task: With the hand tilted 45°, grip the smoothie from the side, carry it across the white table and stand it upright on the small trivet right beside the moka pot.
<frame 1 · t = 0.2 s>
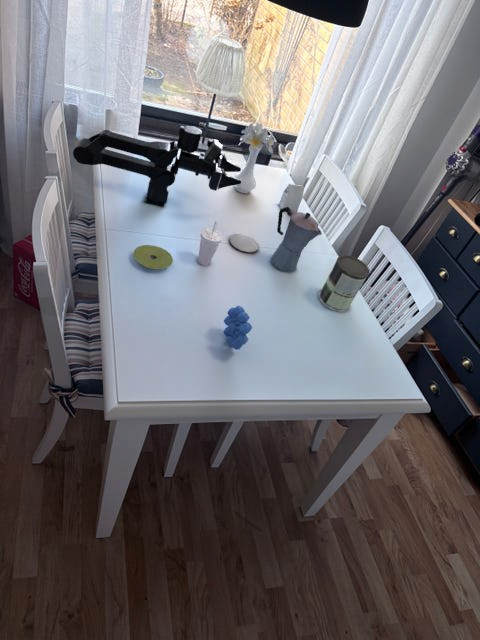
hand: (240, 176, 157), 17 cm above the table, tool horizontal, fingers open, 9 cm apart
trivet: (243, 244, 159), on the table
flower vase: (241, 188, 189), on the table
white carton: (287, 208, 188), on the table
moka pot: (281, 264, 157), on the table
coffee can: (333, 301, 150), on the table
smoothie: (203, 262, 145), on the table
grapes: (233, 344, 122), on the table
green grainy disc: (152, 262, 137), on the table
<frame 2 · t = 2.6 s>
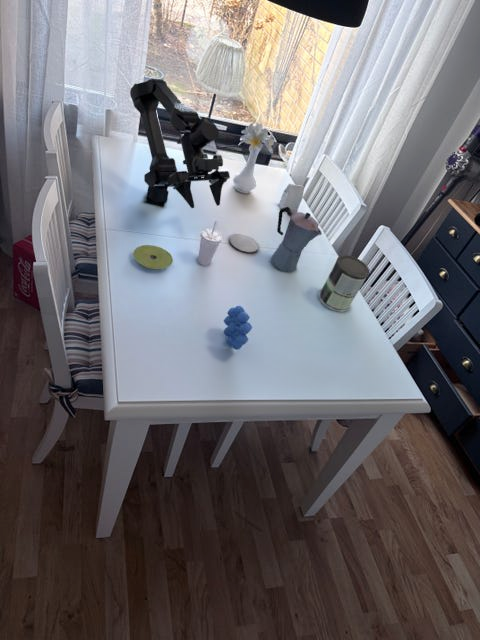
hand: (206, 206, 141), 14 cm above the table, tool tilted 50°, fingers open, 9 cm apart
nothing on the table moved.
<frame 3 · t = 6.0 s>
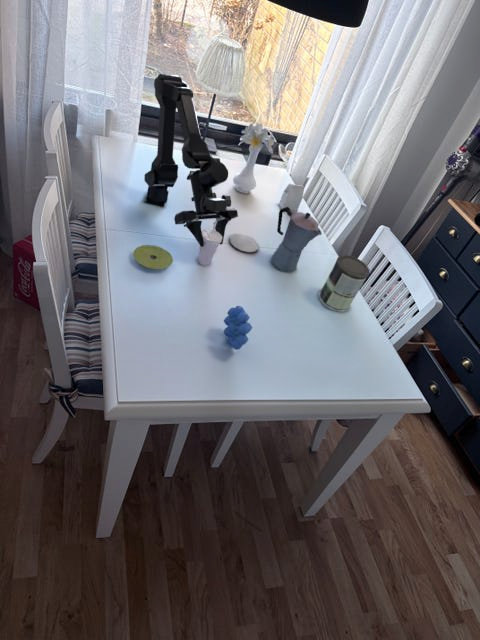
hand: (211, 245, 140), 7 cm above the table, tool tilted 45°, fingers closed on smoothie, 6 cm apart
smoothie: (203, 262, 145), on the table, touching gripper
everything else where it was.
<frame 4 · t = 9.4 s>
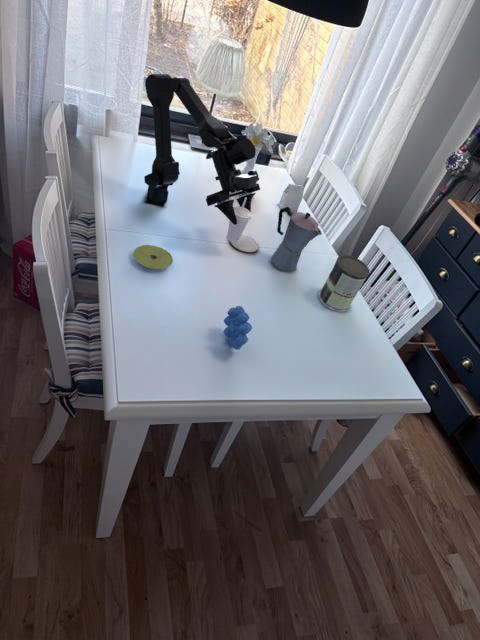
hand: (242, 221, 142), 13 cm above the table, tool tilted 45°, fingers closed on smoothie, 6 cm apart
smoothie: (232, 239, 147), point 6 cm above the table, touching gripper
everything else where it was.
when the fingers open (8 cm above the table, at t = 13.0 s): smoothie stays where it is, resting on trivet.
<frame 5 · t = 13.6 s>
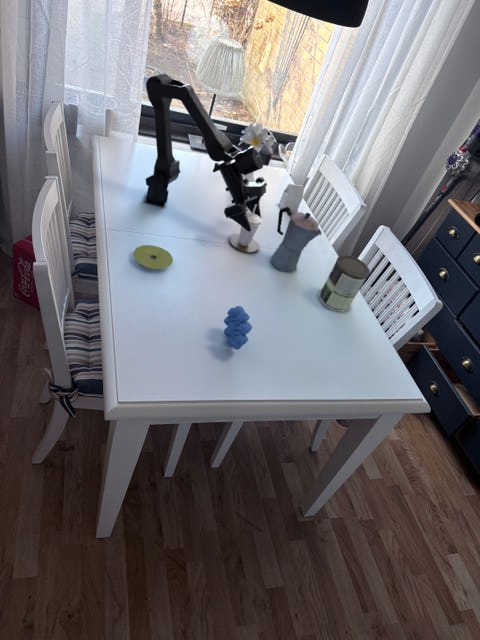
hand: (254, 225, 153), 8 cm above the table, tool tilted 45°, fingers open, 9 cm apart
smoothie: (243, 243, 158), resting on trivet
everything else where it was.
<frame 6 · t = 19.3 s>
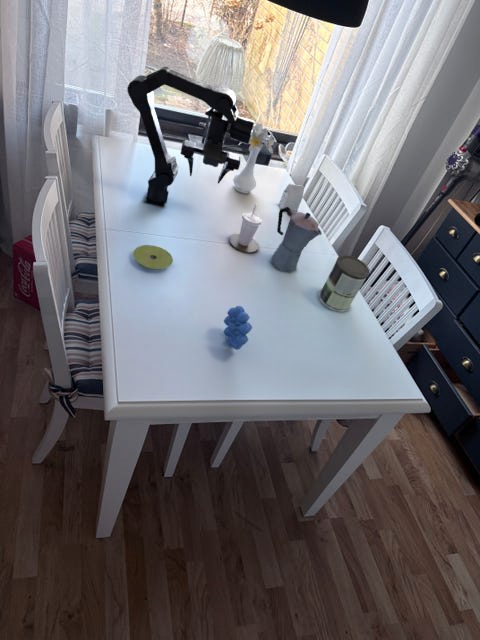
hand: (204, 179, 156), 13 cm above the table, tool pointing down, fingers open, 9 cm apart
nothing on the table moved.
at the end: smoothie 0.2 cm off-centre on the trivet, point 0.4 cm above the trivet's base; smoothie 14.5 cm from the moka pot (horizontally); smoothie tilted 0° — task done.
